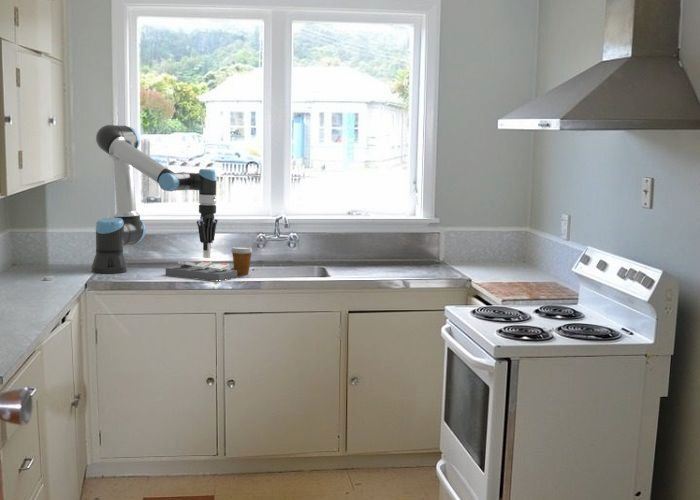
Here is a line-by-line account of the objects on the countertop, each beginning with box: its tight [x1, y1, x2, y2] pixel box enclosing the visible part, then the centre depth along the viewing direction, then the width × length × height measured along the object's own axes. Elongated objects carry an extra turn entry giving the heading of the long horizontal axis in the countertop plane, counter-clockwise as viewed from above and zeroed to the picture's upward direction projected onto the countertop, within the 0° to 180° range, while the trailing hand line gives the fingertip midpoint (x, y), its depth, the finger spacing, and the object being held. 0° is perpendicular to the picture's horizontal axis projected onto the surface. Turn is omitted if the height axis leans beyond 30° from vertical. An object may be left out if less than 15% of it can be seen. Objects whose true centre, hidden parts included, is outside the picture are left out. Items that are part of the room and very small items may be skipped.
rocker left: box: [177, 260, 196, 266], centre depth 376 cm, size 4×7×1 cm, turn 155°
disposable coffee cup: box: [230, 246, 253, 276], centre depth 382 cm, size 10×10×12 cm
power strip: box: [164, 264, 238, 282], centre depth 371 cm, size 28×14×4 cm, turn 65°
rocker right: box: [211, 262, 230, 271], centre depth 368 cm, size 4×7×1 cm, turn 155°
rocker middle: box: [195, 260, 213, 269], centre depth 372 cm, size 4×7×1 cm, turn 155°
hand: (206, 257), depth 374 cm, fingers closed
